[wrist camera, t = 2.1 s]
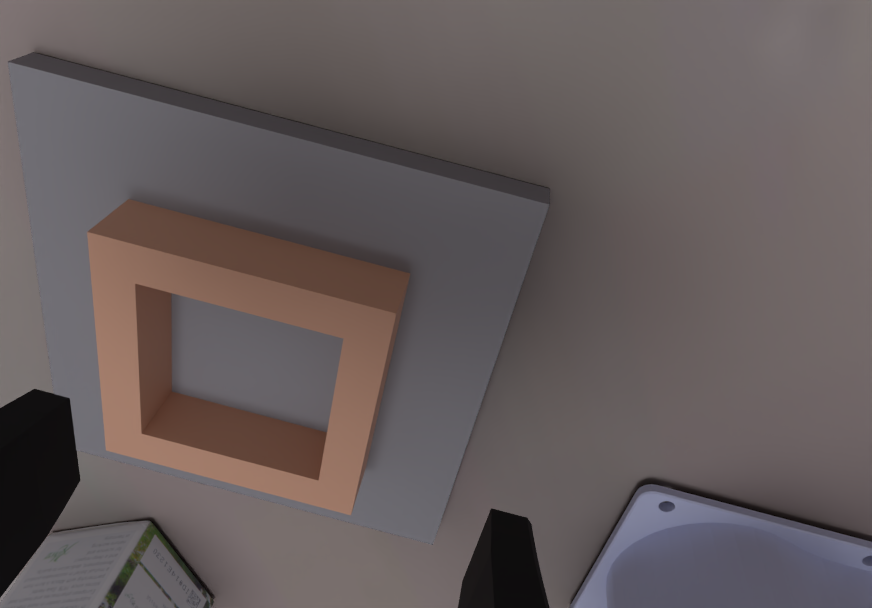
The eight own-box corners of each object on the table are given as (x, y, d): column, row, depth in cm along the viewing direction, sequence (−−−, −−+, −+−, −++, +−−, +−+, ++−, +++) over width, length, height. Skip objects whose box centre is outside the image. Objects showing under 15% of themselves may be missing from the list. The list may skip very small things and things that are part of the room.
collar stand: (549, 188, 18) (549, 241, 15) (436, 522, 26) (423, 593, 23) (33, 52, 18) (-52, 83, 15) (77, 427, 26) (26, 488, 23)
